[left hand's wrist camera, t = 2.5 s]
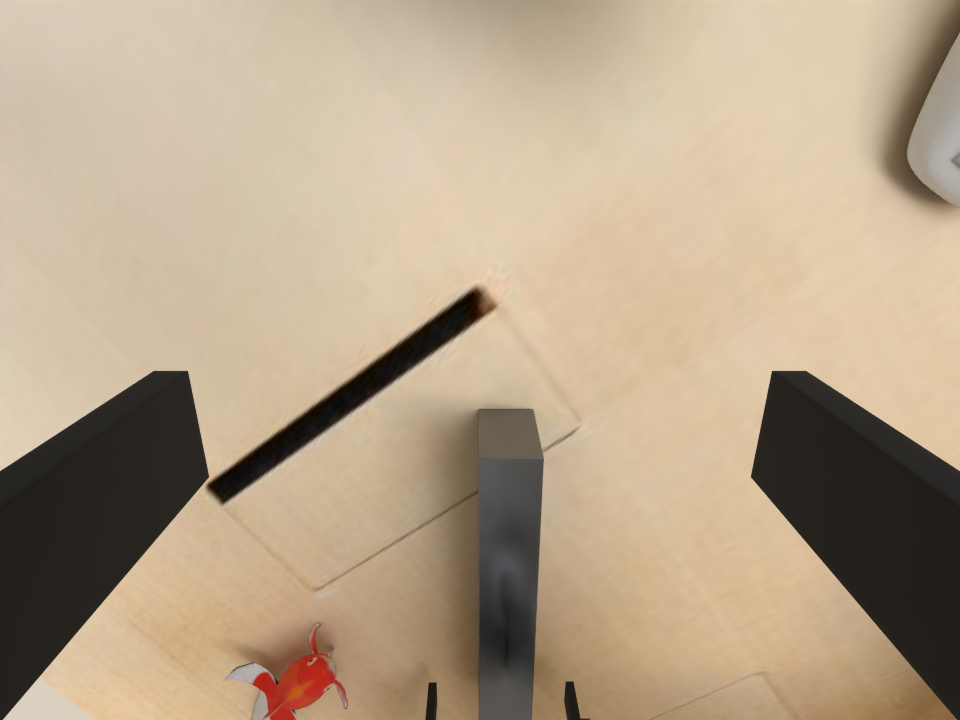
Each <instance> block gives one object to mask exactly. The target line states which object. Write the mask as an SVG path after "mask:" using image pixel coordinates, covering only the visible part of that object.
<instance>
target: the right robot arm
mask: <svg viewBox="0 0 960 720" xmlns="http://www.w3.org/2000/svg"><path fill="white" fill-rule="evenodd" d="M564 702H565V708H566V714H567V720H590V719H580V714H579V709H578V704H577V698H576V693H575V688H574V682H566V686H565V699H564ZM436 711H437V685H436V683H429V686H428V698H427V709H426V720H436Z"/></svg>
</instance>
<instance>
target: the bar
mask: <svg viewBox="0 0 960 720" xmlns="http://www.w3.org/2000/svg"><path fill="white" fill-rule="evenodd" d="M543 462H544V457H543V453H542V448H541V443H540V439H539V434H538V429H537V424H536V420H535V415H534V410H533V409H479V450H478V499H479V720H532V698H533V677H534V655H535V634H536V612H537V591H538V569H539V548H540V526H541V505H542V483H543Z"/></svg>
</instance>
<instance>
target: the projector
mask: <svg viewBox="0 0 960 720" xmlns="http://www.w3.org/2000/svg"><path fill="white" fill-rule="evenodd" d="M907 158H908V162H909V164H910V167H911V169H912V170H913V172H914V173H915V174H916V176H917V177H918V178H919V179H920V180H921V181H922V182H923V183H924V184H925V185H926V186H927V187H929V188H930V189H931V190H932V191H934V192H935V193H936V194H938V195H939V196H940V197H942V198H943V199H945V200H946V201H948V202H949V203H951V204H953V205H955V206H957V207H959V208H960V33H959V35H958V37H957V38H956V40H955V42H954V44H953V46H952V48H951V49H950V51H949V53H948V55H947V57H946V59H945V61H944V63H943V65H942V67H941V69H940V71H939V73H938V75H937V77H936V79H935V81H934V83H933V85H932V87H931V89H930V92H929V94H928V96H927V98H926V100H925V102H924V105H923V107H922V109H921V112H920V114H919V116H918V119H917V121H916V124H915V126H914V129H913V131H912V134H911V137H910V140H909V144H908V149H907Z"/></svg>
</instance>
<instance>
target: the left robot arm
mask: <svg viewBox="0 0 960 720" xmlns="http://www.w3.org/2000/svg"><path fill="white" fill-rule="evenodd" d="M208 478H209V474H208V469H207V464H206V459H205V454H204V449H203V444H202V439H201V434H200V429H199V424H198V419H197V414H196V409H195V404H194V399H193V394H192V389H191V384H190V379H189V374H188V371H153V372H152V373H150V374H149V375H147V376H145V377H144V378H142V379H141V380H139V381H138V382H136V383H135V384H133V385H132V386H130V387H129V388H127V389H126V390H124V391H122V392H121V393H119V394H118V395H116V396H115V397H113V398H112V399H110V400H109V401H107V402H106V403H104V404H103V405H101V406H100V407H98V408H96V409H95V410H93V411H92V412H90V413H89V414H87V415H86V416H84V417H83V418H81V419H80V420H78V421H77V422H75V423H73V424H72V425H70V426H69V427H67V428H66V429H64V430H63V431H61V432H60V433H58V434H57V435H55V436H54V437H52V438H50V439H49V440H47V441H46V442H44V443H43V444H41V445H40V446H38V447H37V448H35V449H34V450H32V451H31V452H29V453H27V454H26V455H24V456H23V457H21V458H20V459H18V460H17V461H15V462H14V463H12V464H11V465H9V466H8V467H6V468H4V469H3V470H1V471H0V720H3V719H4V718H5V716H6V715H7V714H8V713H9V712H10V711H11V709H12V708H13V707H14V706H15V705H16V704H17V702H18V701H19V700H20V699H21V698H22V696H23V695H24V694H25V693H26V692H27V691H28V689H29V688H30V687H31V686H32V685H33V684H34V682H35V681H36V680H37V679H38V678H39V677H40V675H41V674H42V673H43V672H44V671H45V669H46V668H47V667H48V666H49V665H50V664H51V662H52V661H53V660H54V659H55V658H56V657H57V655H58V654H59V653H60V652H61V651H62V649H63V648H64V647H65V646H66V645H67V644H68V642H69V641H70V640H71V639H72V638H73V637H74V635H75V634H76V633H77V632H78V631H79V629H80V628H81V627H82V626H83V625H84V624H85V622H86V621H87V620H88V619H89V618H90V617H91V615H92V614H93V613H94V612H95V611H96V609H97V608H98V607H99V606H100V605H101V604H102V602H103V601H104V600H105V599H106V598H107V597H108V595H109V594H110V593H111V592H112V591H113V589H114V588H115V587H116V586H117V585H118V584H119V582H120V581H121V580H122V579H123V578H124V577H125V575H126V574H127V573H128V572H129V571H130V569H131V568H132V567H133V566H134V565H135V564H136V562H137V561H138V560H139V559H140V558H141V557H142V555H143V554H144V553H145V552H146V551H147V549H148V548H149V547H150V546H151V545H152V544H153V542H154V541H155V540H156V539H157V538H158V537H159V535H160V534H161V533H162V532H163V531H164V529H165V528H166V527H167V526H168V525H169V524H170V522H171V521H172V520H173V519H174V518H175V517H176V515H177V514H178V513H179V512H180V511H181V509H182V508H183V507H184V506H185V505H186V504H187V502H188V501H189V500H190V499H191V498H192V497H193V495H194V494H195V493H196V492H197V491H198V489H199V488H200V487H201V486H202V485H203V484H204V482H205V481H206V480H207V479H208ZM751 478H752V479H753V480H754V481H755V482H756V484H757V485H758V486H759V487H760V488H761V489H762V491H763V492H764V493H765V494H766V495H767V497H768V498H769V499H770V500H771V501H772V502H773V504H774V505H775V506H776V507H777V508H778V509H779V511H780V512H781V513H782V514H783V515H784V517H785V518H786V519H787V520H788V521H789V522H790V524H791V525H792V526H793V527H794V528H795V529H796V531H797V532H798V533H799V534H800V535H801V537H802V538H803V539H804V540H805V541H806V542H807V544H808V545H809V546H810V547H811V548H812V549H813V551H814V552H815V553H816V554H817V555H818V557H819V558H820V559H821V560H822V561H823V562H824V564H825V565H826V566H827V567H828V568H829V569H830V571H831V572H832V573H833V574H834V575H835V577H836V578H837V579H838V580H839V581H840V582H841V584H842V585H843V586H844V587H845V588H846V589H847V591H848V592H849V593H850V594H851V595H852V597H853V598H854V599H855V600H856V601H857V602H858V604H859V605H860V606H861V607H862V608H863V609H864V611H865V612H866V613H867V614H868V615H869V617H870V618H871V619H872V620H873V621H874V622H875V624H876V625H877V626H878V627H879V628H880V629H881V631H882V632H883V633H884V634H885V635H886V637H887V638H888V639H889V640H890V641H891V642H892V644H893V645H894V646H895V647H896V648H897V649H898V651H899V652H900V653H901V654H902V655H903V657H904V658H905V659H906V660H907V661H908V662H909V664H910V665H911V666H912V667H913V668H914V669H915V671H916V672H917V673H918V674H919V675H920V677H921V678H922V679H923V680H924V681H925V682H926V684H927V685H928V686H929V687H930V688H931V689H932V691H933V692H934V693H935V694H936V695H937V697H938V698H939V699H940V700H941V701H942V702H943V704H944V705H945V706H946V707H947V708H948V709H949V711H950V712H951V713H952V714H953V715H954V717H955V718H956V719H957V720H960V471H959V470H957V469H956V468H954V467H952V466H951V465H949V464H948V463H946V462H945V461H943V460H942V459H940V458H939V457H937V456H936V455H934V454H933V453H931V452H929V451H928V450H926V449H925V448H923V447H922V446H920V445H919V444H917V443H916V442H914V441H913V440H911V439H910V438H908V437H906V436H905V435H903V434H902V433H900V432H899V431H897V430H896V429H894V428H893V427H891V426H890V425H888V424H887V423H885V422H883V421H882V420H880V419H879V418H877V417H876V416H874V415H873V414H871V413H870V412H868V411H867V410H865V409H864V408H862V407H860V406H859V405H857V404H856V403H854V402H853V401H851V400H850V399H848V398H847V397H845V396H844V395H842V394H841V393H839V392H838V391H836V390H834V389H833V388H831V387H830V386H828V385H827V384H825V383H824V382H822V381H821V380H819V379H818V378H816V377H815V376H813V375H811V374H810V373H808V372H807V371H772V374H771V379H770V384H769V389H768V394H767V399H766V404H765V409H764V414H763V419H762V424H761V429H760V434H759V439H758V444H757V449H756V454H755V459H754V464H753V469H752V474H751Z"/></svg>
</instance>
